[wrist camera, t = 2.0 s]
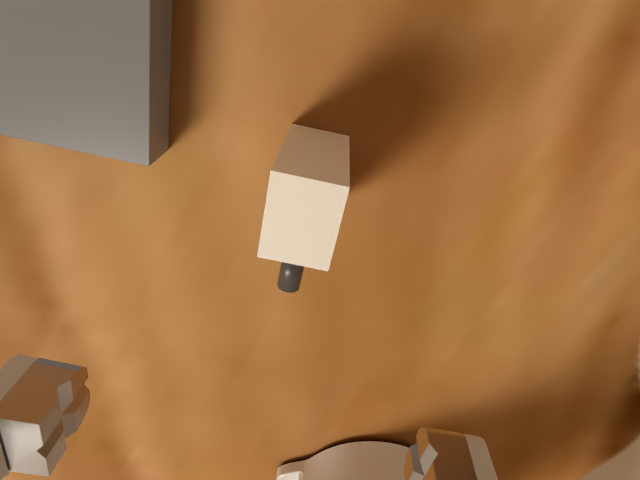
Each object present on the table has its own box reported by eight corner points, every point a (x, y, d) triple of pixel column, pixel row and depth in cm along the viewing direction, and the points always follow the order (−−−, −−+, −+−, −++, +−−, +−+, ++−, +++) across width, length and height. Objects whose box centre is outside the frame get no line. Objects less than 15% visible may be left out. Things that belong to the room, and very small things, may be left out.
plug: (325, 234, 29) (318, 309, 22) (274, 224, 29) (251, 296, 22) (349, 136, 26) (349, 187, 19) (291, 123, 25) (270, 170, 18)
